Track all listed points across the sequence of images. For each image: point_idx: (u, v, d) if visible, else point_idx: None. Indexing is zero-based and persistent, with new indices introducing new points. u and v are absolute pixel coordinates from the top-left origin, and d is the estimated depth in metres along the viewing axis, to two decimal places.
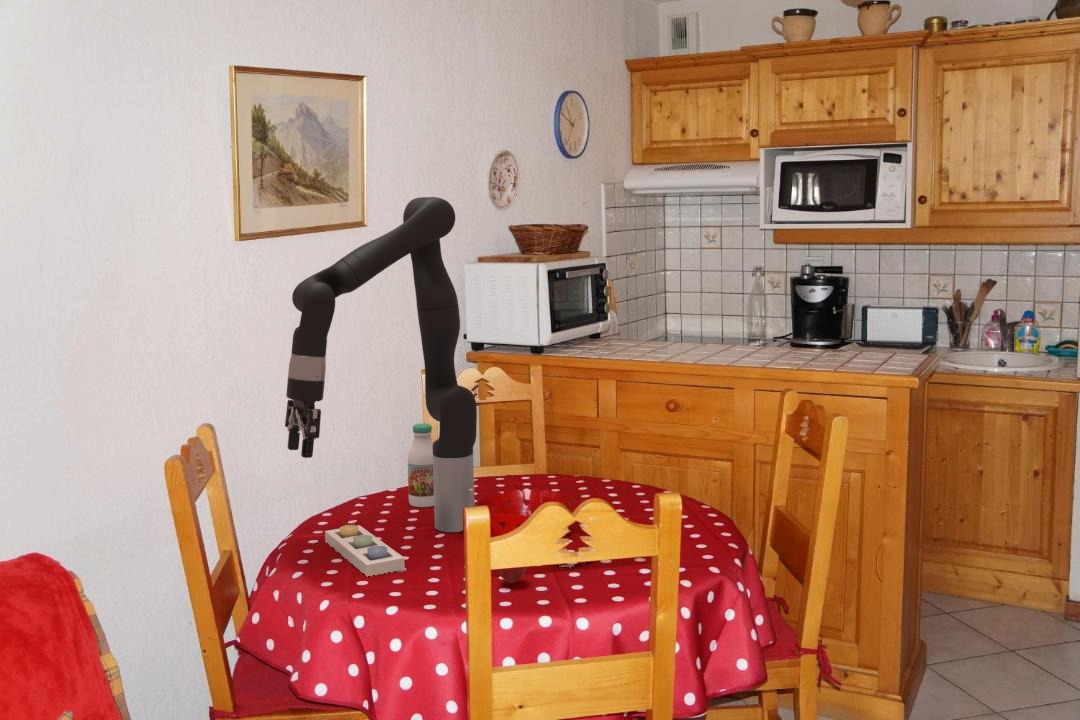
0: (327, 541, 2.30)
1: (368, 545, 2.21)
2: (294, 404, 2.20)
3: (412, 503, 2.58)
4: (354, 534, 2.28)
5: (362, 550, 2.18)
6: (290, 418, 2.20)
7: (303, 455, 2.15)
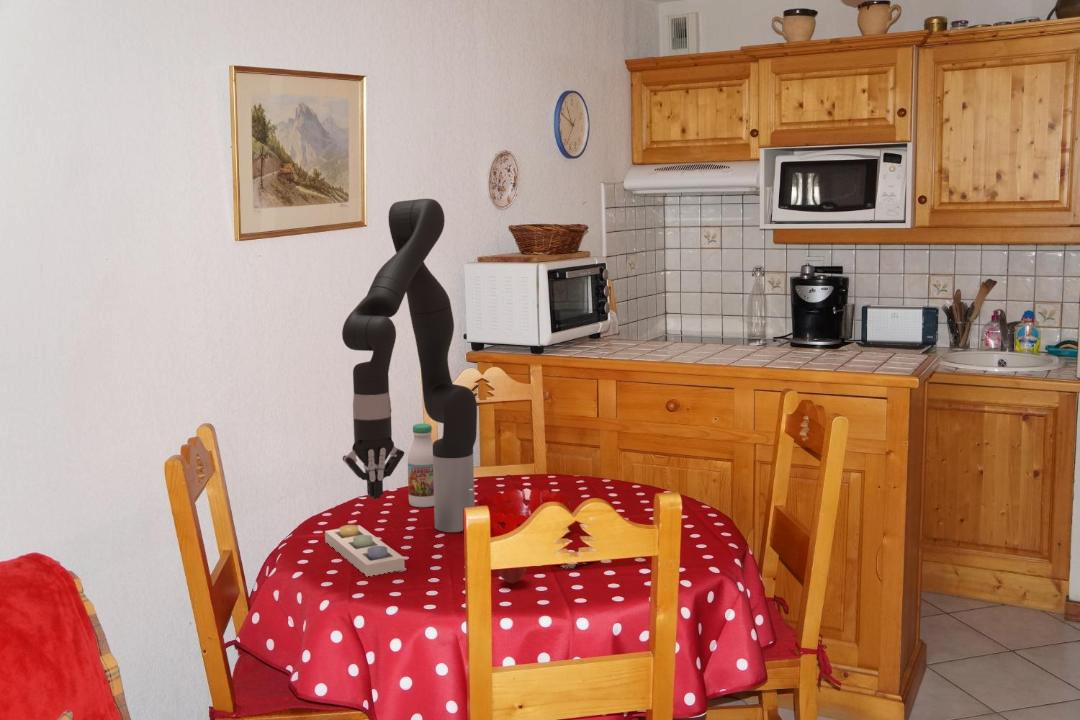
0: (327, 541, 2.30)
1: (368, 545, 2.21)
2: (361, 447, 2.09)
3: (412, 503, 2.58)
4: (354, 534, 2.28)
5: (362, 550, 2.18)
6: (372, 463, 2.10)
7: None
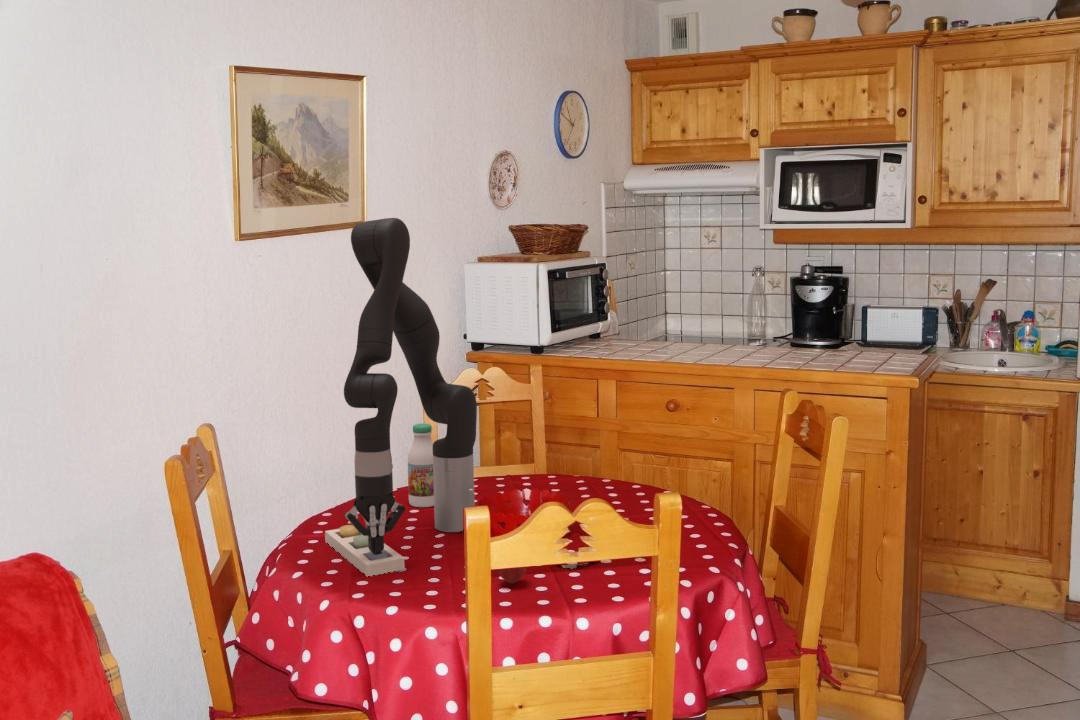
0: (327, 541, 2.30)
1: (368, 545, 2.21)
2: (362, 503, 2.11)
3: (412, 503, 2.58)
4: (354, 534, 2.28)
5: (362, 550, 2.18)
6: (373, 519, 2.12)
7: None
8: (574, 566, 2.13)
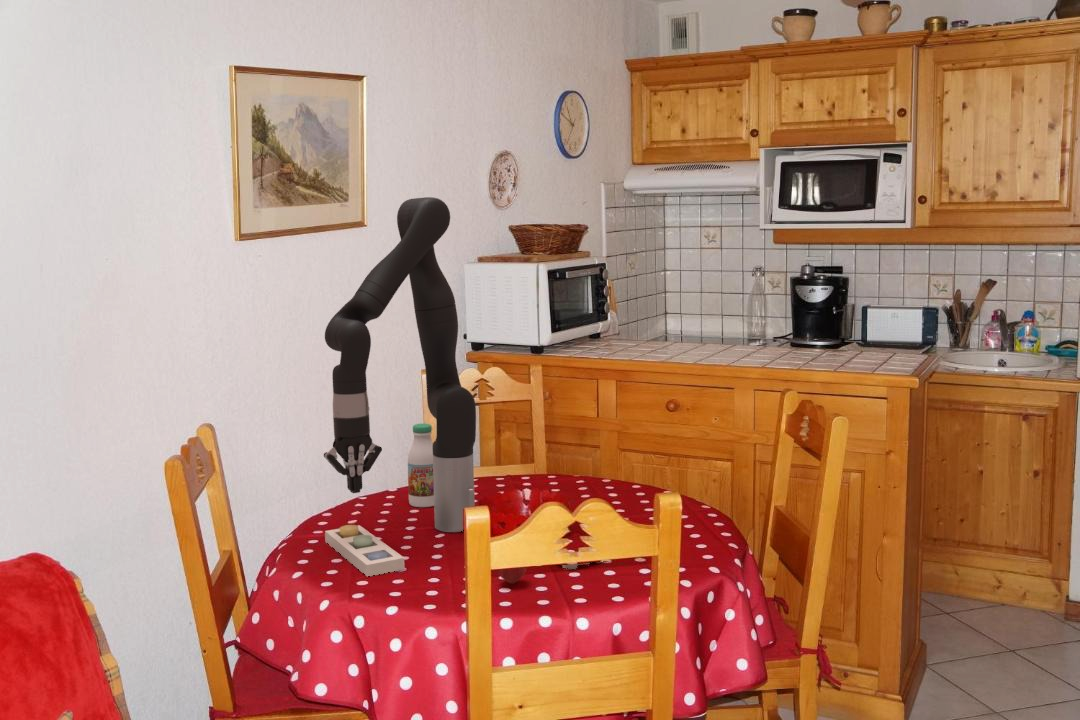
0: (327, 541, 2.30)
1: (368, 545, 2.21)
2: (341, 443, 2.20)
3: (412, 503, 2.58)
4: (354, 534, 2.28)
5: (362, 550, 2.18)
6: (352, 459, 2.21)
7: None
8: (575, 567, 2.12)
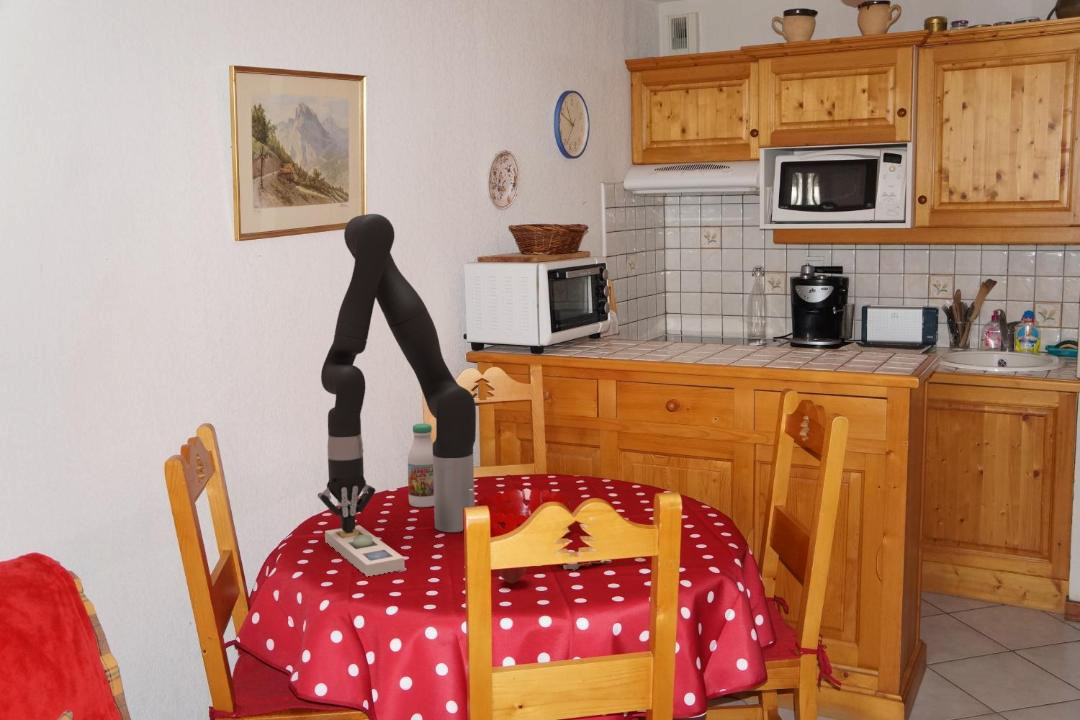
0: (327, 541, 2.30)
1: (368, 545, 2.21)
2: (334, 485, 2.25)
3: (412, 503, 2.58)
4: None
5: (362, 550, 2.18)
6: (345, 500, 2.26)
7: None
8: (575, 567, 2.12)
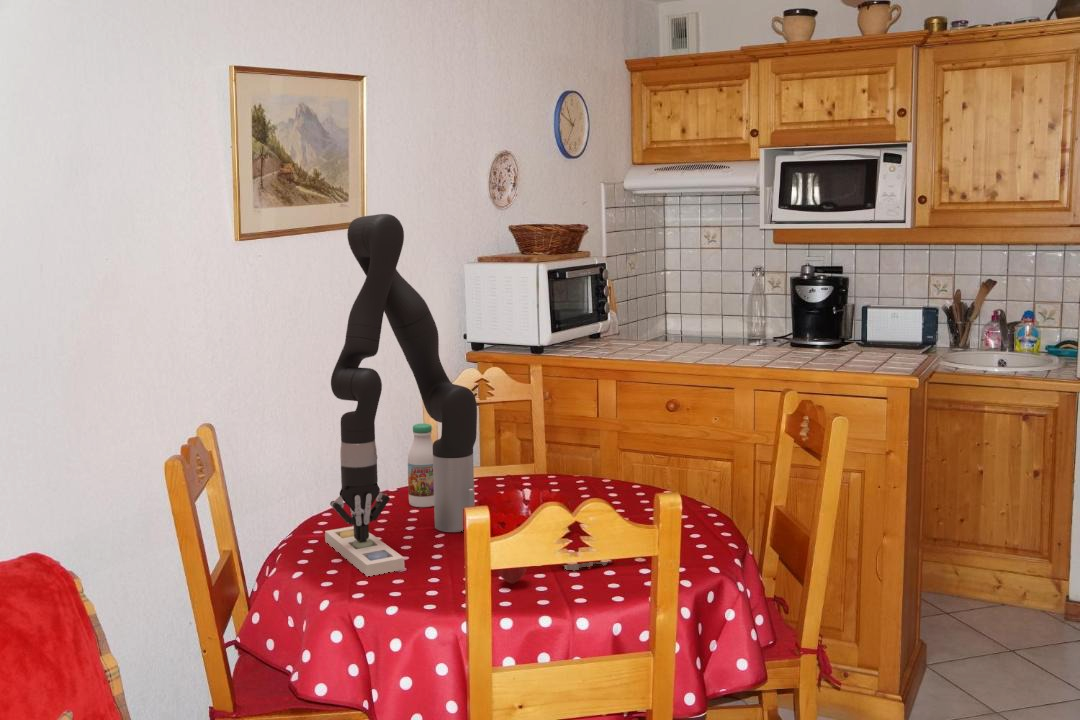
0: (327, 541, 2.30)
1: None
2: (348, 492, 2.18)
3: (412, 503, 2.58)
4: None
5: (362, 550, 2.18)
6: (358, 508, 2.19)
7: None
8: (576, 569, 2.11)
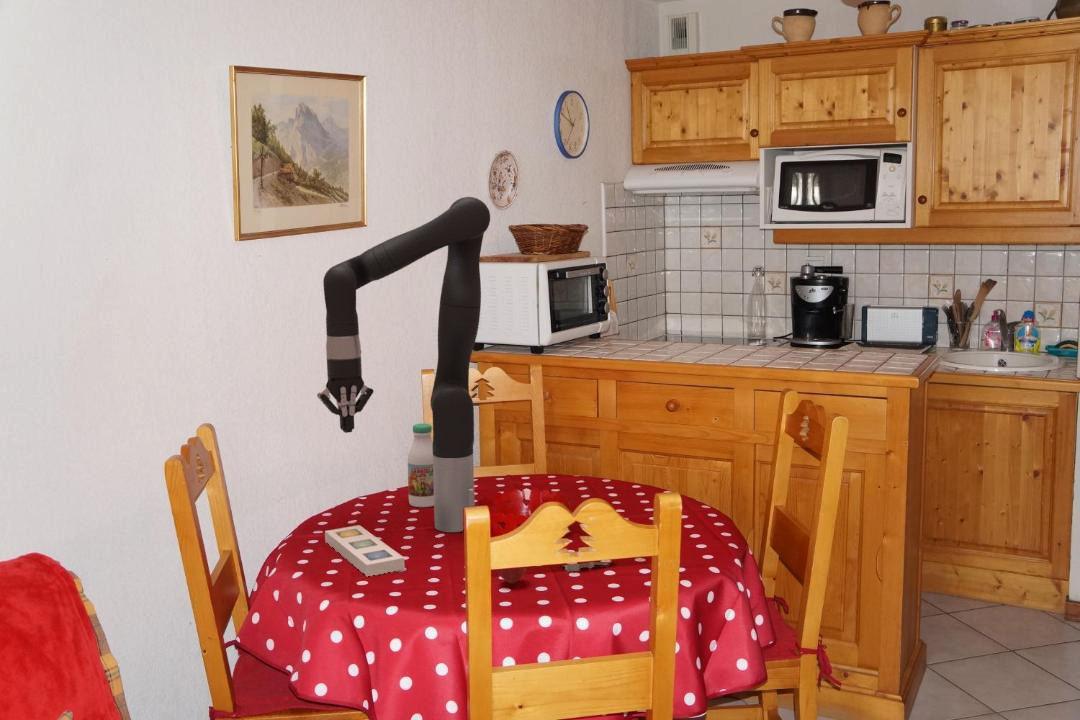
0: (327, 541, 2.30)
1: None
2: (334, 384, 2.31)
3: (412, 503, 2.58)
4: None
5: (362, 550, 2.18)
6: (344, 400, 2.32)
7: None
8: (577, 569, 2.11)
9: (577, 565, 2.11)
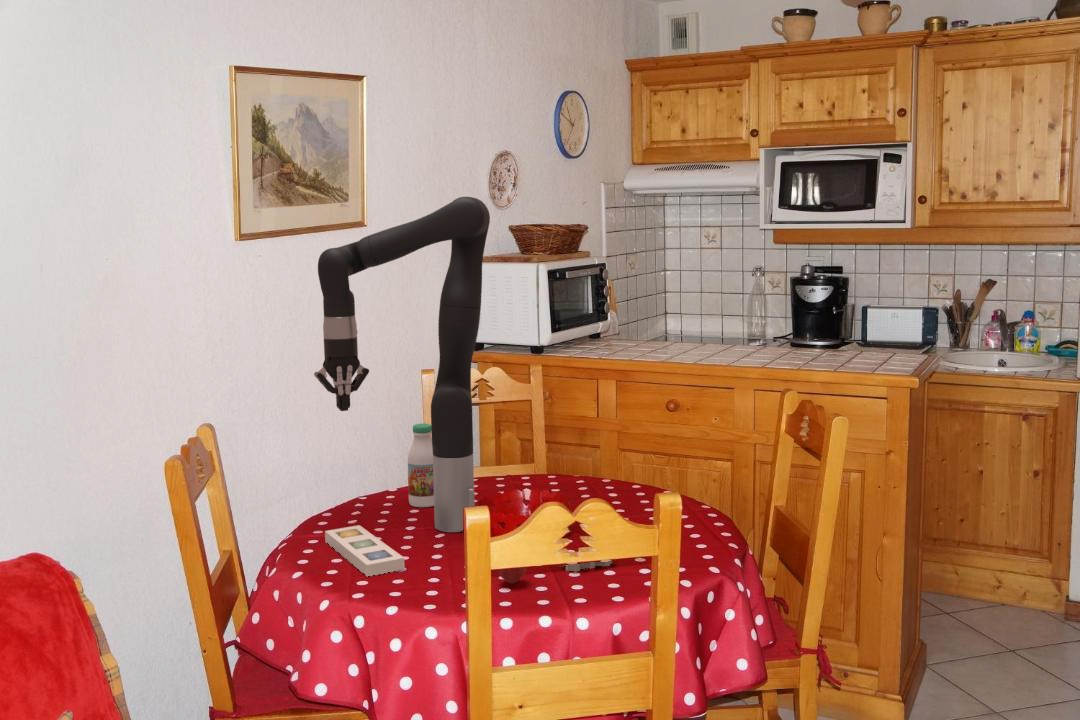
0: (327, 541, 2.30)
1: None
2: (330, 363, 2.37)
3: (412, 503, 2.58)
4: None
5: (362, 550, 2.18)
6: (340, 379, 2.38)
7: None
8: (577, 570, 2.10)
9: (577, 566, 2.10)
